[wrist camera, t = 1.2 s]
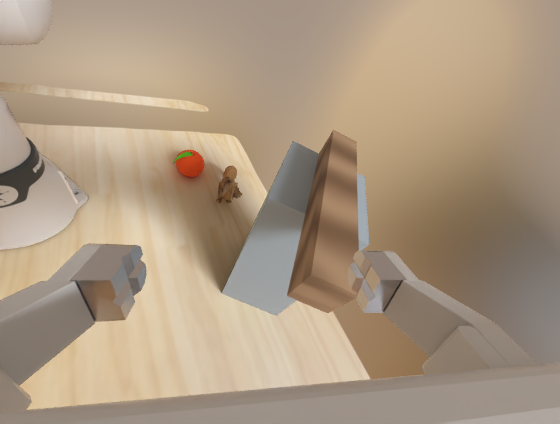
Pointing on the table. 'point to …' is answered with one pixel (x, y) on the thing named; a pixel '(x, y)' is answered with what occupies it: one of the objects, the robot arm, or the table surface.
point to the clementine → (189, 163)
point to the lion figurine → (228, 185)
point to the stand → (281, 235)
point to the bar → (329, 229)
